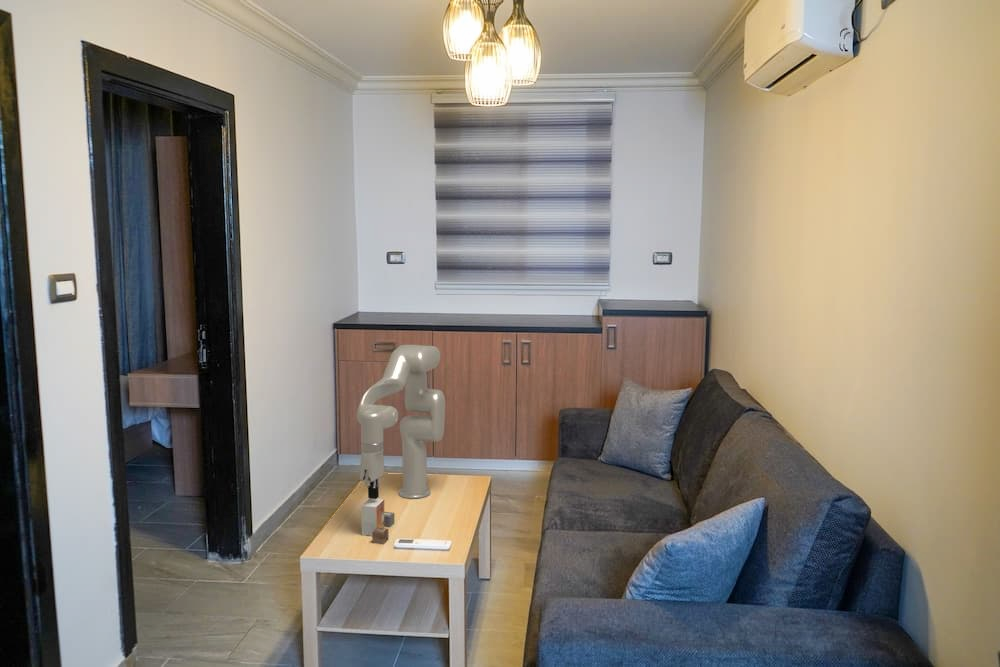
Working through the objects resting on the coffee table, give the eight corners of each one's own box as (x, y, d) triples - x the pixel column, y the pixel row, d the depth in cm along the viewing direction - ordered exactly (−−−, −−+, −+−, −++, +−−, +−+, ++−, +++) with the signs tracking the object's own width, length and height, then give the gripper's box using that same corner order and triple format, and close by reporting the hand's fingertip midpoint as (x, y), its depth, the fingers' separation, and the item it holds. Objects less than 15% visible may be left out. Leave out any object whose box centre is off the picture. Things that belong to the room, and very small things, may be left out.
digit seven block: (377, 538, 253) (377, 526, 253) (388, 540, 252) (388, 528, 251) (372, 543, 249) (372, 531, 249) (383, 544, 248) (383, 532, 248)
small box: (376, 536, 254) (376, 507, 253) (361, 535, 256) (360, 505, 254) (384, 527, 262) (384, 499, 261) (369, 526, 263) (369, 497, 262)
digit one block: (384, 522, 267) (384, 511, 267) (394, 523, 266) (394, 512, 266) (379, 526, 264) (379, 515, 263) (389, 527, 263) (389, 516, 262)
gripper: (372, 439, 263) (372, 489, 266) (352, 452, 249) (353, 504, 252) (391, 441, 261) (392, 491, 264) (373, 454, 247) (374, 506, 250)
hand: (373, 497), depth 258 cm, fingers closed
